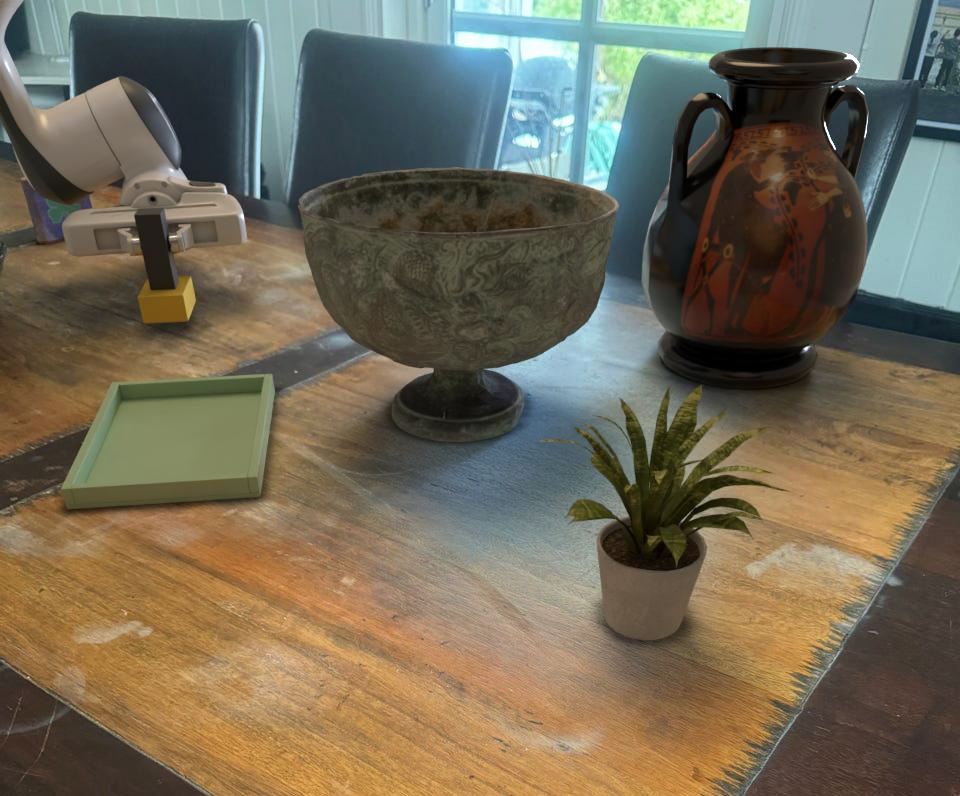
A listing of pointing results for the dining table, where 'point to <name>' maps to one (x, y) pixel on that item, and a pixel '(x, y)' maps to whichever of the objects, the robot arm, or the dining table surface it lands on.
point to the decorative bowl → (458, 281)
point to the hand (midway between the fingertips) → (156, 246)
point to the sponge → (161, 272)
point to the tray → (174, 442)
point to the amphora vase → (759, 221)
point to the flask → (49, 214)
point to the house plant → (660, 518)
